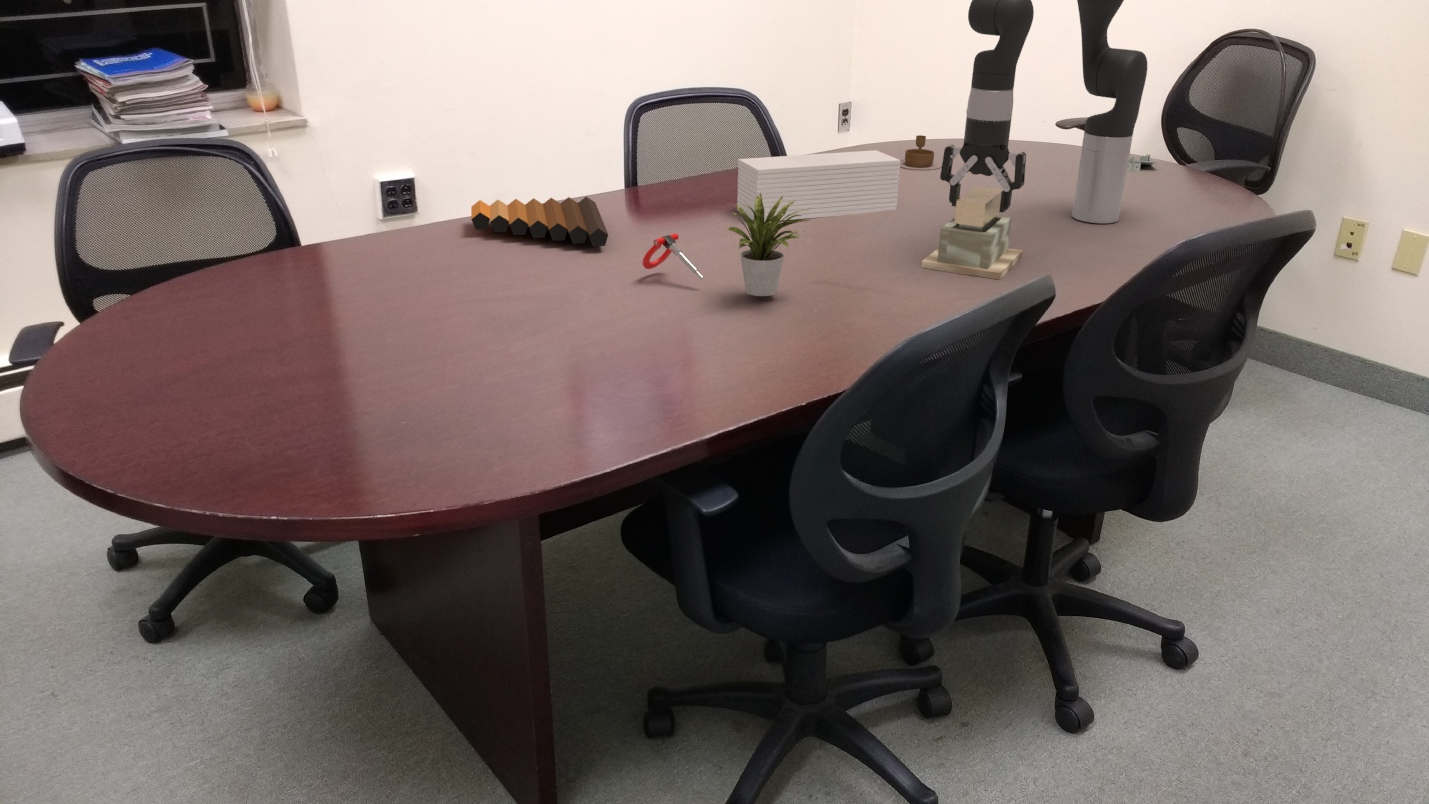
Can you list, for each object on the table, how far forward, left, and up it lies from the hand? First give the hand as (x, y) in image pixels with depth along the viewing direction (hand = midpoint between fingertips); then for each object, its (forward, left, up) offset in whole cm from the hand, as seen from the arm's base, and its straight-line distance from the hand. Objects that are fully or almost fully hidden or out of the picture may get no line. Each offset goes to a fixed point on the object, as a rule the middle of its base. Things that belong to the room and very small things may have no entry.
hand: (978, 208), depth 194 cm
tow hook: (+33, -44, -12) cm, 57 cm away
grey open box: (0, 0, -10) cm, 10 cm away
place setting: (-75, -33, -11) cm, 83 cm away
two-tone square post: (0, 0, -9) cm, 9 cm away
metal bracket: (-96, +20, -9) cm, 99 cm away
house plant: (+35, -26, -10) cm, 45 cm away
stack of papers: (-21, -39, -10) cm, 46 cm away
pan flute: (+32, -72, -8) cm, 79 cm away
